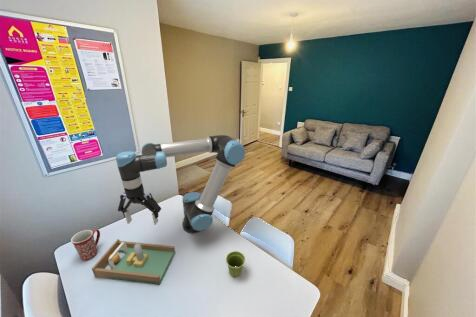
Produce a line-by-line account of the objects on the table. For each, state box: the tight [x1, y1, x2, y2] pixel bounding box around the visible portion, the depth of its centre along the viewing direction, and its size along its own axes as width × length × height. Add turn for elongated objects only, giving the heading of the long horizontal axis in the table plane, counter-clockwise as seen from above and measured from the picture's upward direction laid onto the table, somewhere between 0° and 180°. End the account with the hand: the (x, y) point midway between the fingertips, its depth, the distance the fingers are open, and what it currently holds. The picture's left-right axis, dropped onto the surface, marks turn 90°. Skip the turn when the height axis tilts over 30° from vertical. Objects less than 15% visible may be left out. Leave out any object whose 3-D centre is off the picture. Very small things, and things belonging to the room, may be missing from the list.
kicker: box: [126, 242, 148, 267], centre depth 97 cm, size 8×6×11 cm
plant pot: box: [225, 250, 246, 278], centre depth 96 cm, size 9×9×9 cm
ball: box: [109, 252, 121, 264], centre depth 100 cm, size 5×5×5 cm
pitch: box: [91, 239, 176, 286], centre depth 98 cm, size 32×18×9 cm, turn 84°
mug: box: [70, 228, 101, 261], centre depth 104 cm, size 13×9×14 cm
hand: (143, 222), depth 95 cm, fingers open, 13 cm apart
